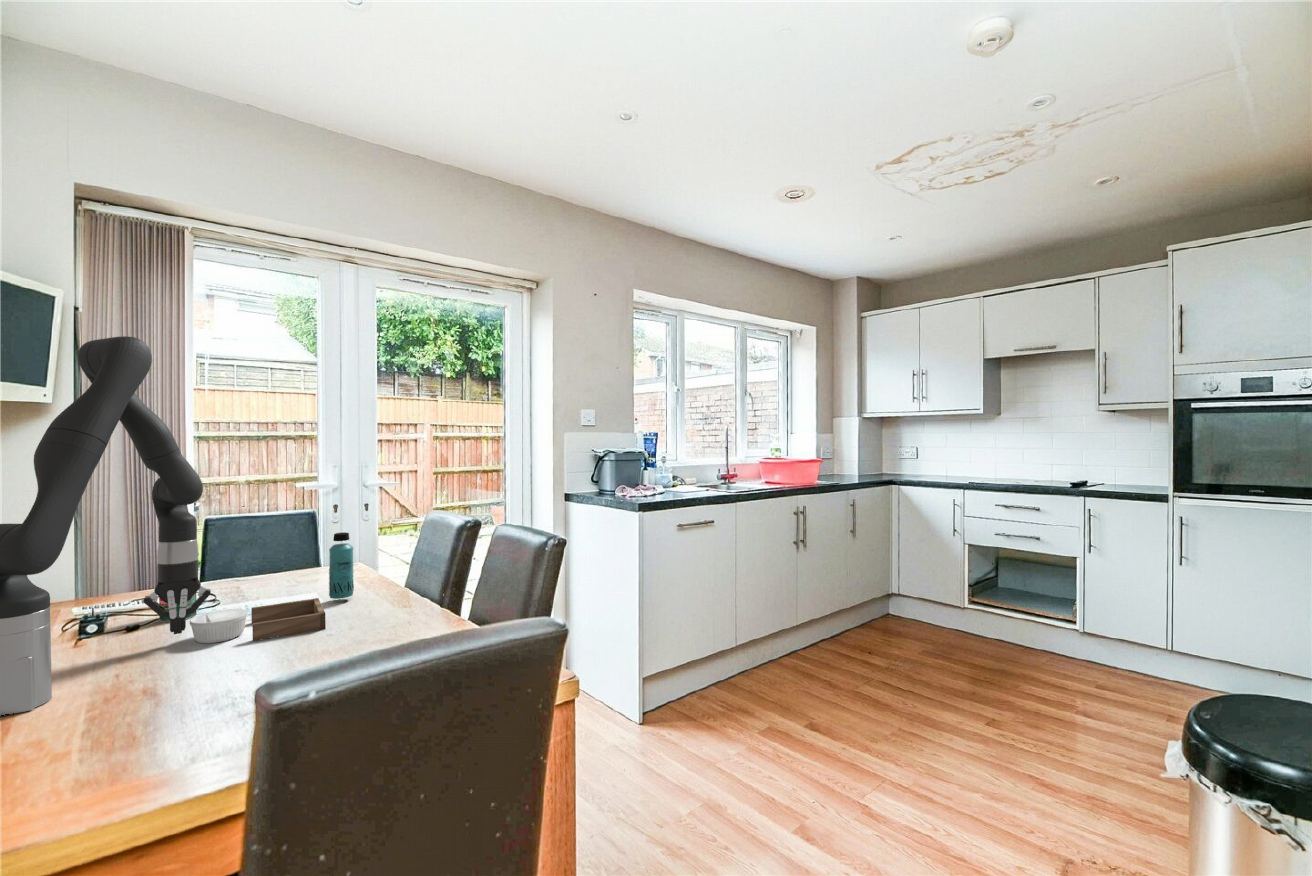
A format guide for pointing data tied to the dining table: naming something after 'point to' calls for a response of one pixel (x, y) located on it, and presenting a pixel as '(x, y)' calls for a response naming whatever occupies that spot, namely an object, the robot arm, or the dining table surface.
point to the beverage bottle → (341, 568)
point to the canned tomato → (165, 605)
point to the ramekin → (218, 625)
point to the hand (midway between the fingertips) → (178, 633)
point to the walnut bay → (287, 618)
